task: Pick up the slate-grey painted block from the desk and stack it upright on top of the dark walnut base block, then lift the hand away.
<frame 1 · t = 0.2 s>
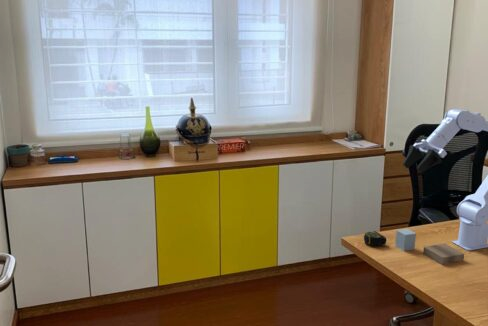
hand: (411, 168, 159), 31 cm above the table, fingers open, 7 cm apart
tape measure: (374, 243, 177), on the table
walnut base: (442, 258, 166), on the table
grey block: (404, 247, 173), on the table
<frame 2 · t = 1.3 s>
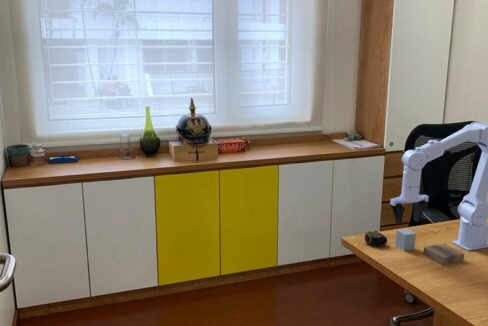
hand: (407, 222, 171), 9 cm above the table, fingers open, 7 cm apart
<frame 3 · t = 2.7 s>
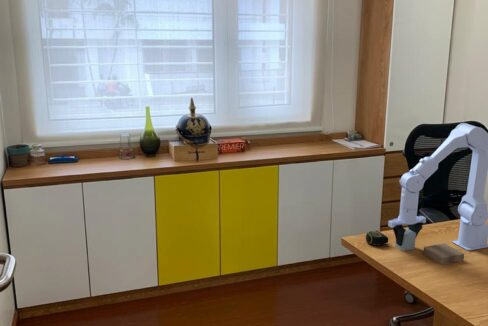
hand: (405, 243, 173), 1 cm above the table, fingers closed on grey block, 5 cm apart
grey block: (404, 247, 173), on the table, touching gripper
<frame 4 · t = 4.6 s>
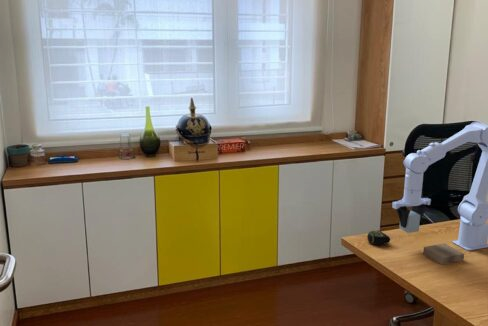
hand: (409, 225, 171), 8 cm above the table, fingers closed on grey block, 5 cm apart
grey block: (408, 229, 171), point 7 cm above the table, touching gripper
when the fingers open (6 cm above the table, at t = 6.4 s): grey block drops 2 cm, point 3 cm above the table.
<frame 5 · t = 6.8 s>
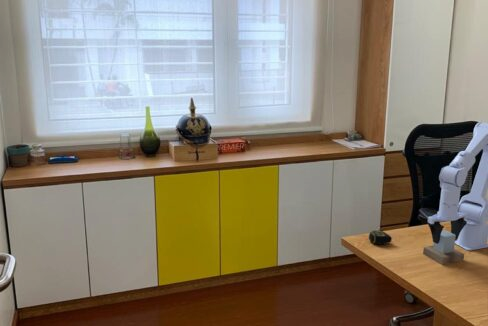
hand: (444, 241, 164), 6 cm above the table, fingers open, 7 cm apart
grey block: (443, 250, 165), point 3 cm above the table
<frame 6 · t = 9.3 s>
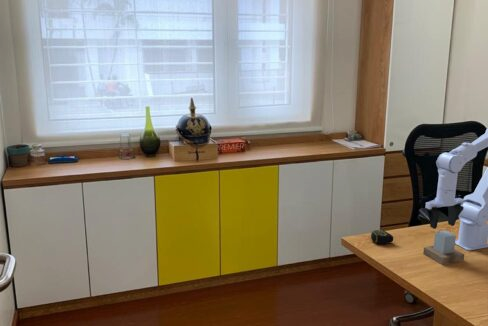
hand: (442, 226, 168), 9 cm above the table, fingers open, 7 cm apart
at the end: grey block 0.2 cm off-centre on the walnut base, point 3.0 cm above the walnut base's base; grey block tilted 0°; the gripper is holding nothing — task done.
